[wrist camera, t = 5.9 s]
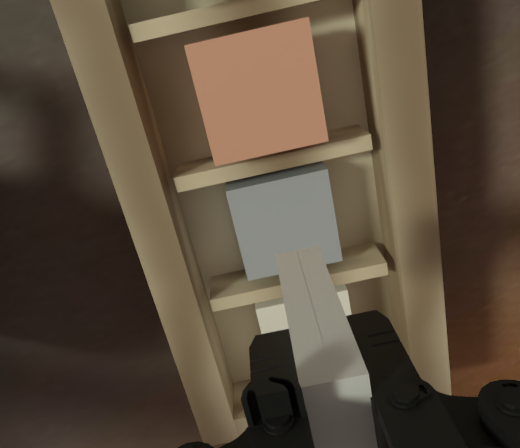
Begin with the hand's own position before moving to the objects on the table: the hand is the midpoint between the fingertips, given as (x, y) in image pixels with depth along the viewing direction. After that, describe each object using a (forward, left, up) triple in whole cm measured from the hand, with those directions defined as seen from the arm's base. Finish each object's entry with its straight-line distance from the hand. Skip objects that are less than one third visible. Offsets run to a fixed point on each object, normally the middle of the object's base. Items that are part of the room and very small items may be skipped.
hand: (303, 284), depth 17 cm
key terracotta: (0, +6, -7) cm, 9 cm away
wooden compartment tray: (0, +3, -10) cm, 11 cm away
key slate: (0, -1, -9) cm, 9 cm away
